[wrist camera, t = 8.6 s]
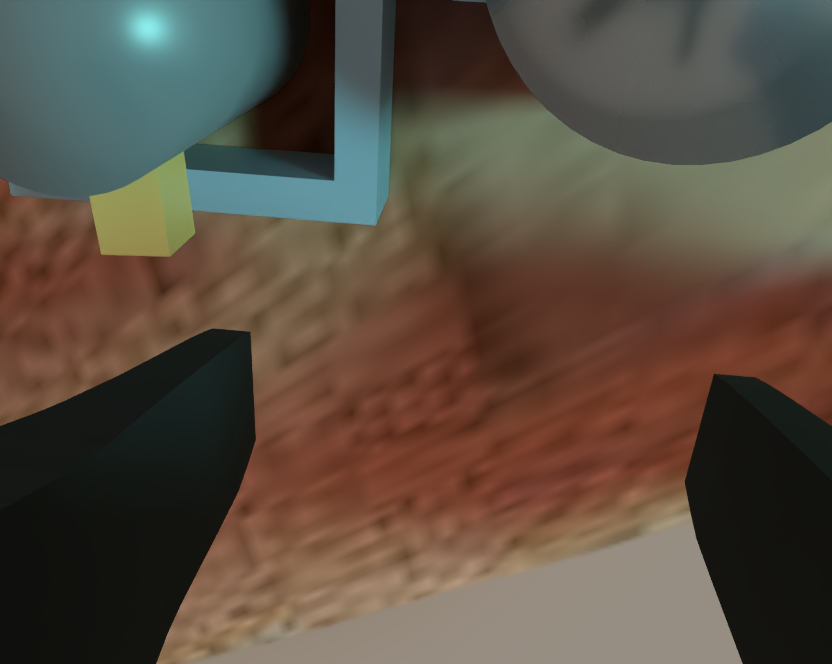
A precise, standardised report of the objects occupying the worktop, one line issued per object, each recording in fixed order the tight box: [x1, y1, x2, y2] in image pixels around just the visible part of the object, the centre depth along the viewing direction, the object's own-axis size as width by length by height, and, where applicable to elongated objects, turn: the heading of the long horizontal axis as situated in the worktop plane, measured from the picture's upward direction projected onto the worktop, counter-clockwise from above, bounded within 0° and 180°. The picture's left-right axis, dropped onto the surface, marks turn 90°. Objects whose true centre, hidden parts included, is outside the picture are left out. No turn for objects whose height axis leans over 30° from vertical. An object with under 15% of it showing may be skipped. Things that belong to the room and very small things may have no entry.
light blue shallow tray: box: [8, 0, 396, 225], centre depth 17 cm, size 9×9×2 cm
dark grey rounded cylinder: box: [0, 0, 310, 257], centre depth 15 cm, size 5×6×8 cm
